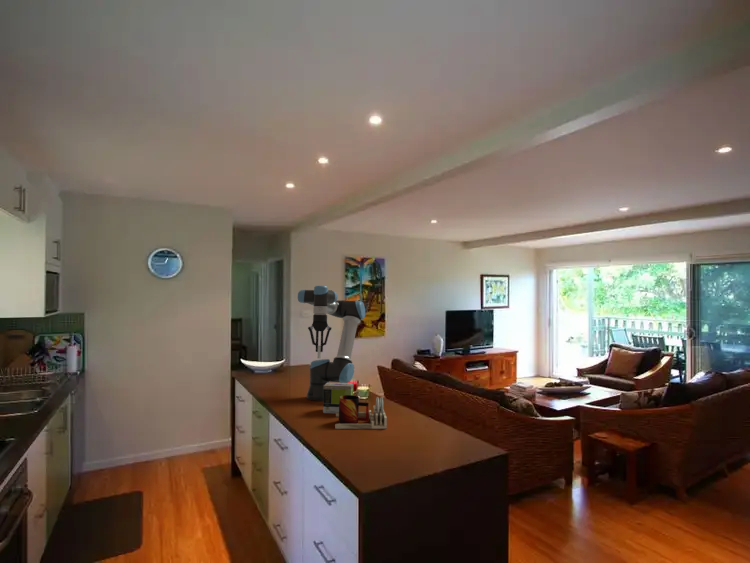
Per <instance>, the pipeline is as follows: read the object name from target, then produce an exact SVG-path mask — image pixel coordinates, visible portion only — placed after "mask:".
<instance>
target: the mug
mask: <svg viewBox="0 0 750 563" xmlns="http://www.w3.org/2000/svg"><path fill="white" fill-rule="evenodd" d="M359 400H360V397H359V396H358V395H354V394H353V395H344V396H340V397H339V417H338V424H359V422H369V413H368V412H369V406H370V405H369V402H364V401H363V402H361V401H359ZM359 407H365V412H366V417H358V414H359V412H360V411H359V409H360V408H359Z"/></svg>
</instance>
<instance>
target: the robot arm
mask: <svg viewBox="0 0 750 563" xmlns="http://www.w3.org/2000/svg"><path fill="white" fill-rule="evenodd" d="M297 300H298V302H299V303H302V304H309V305H311V306H312V308H313V316H312V324H311V325H310V326H308V327H307V329H308V331H309V335H310V339H311V343H312V345H314V347H315V352H316V353H317V359H315V360H312V361H311V362H310V367H309V370H310V371H309V387H308V389H307V392H306V399H307V400H310V401H319V402H321V401H323V386H324V385H325V384H326V383H351V381H352V380H353V377H354V374H355V365H354V364H353V361H352V359H351V358H352V353H353V348H354V343H355V338H356V334H357V330H358V325H359V324H360V323H361V320H363V319H365V317H366V308H365V304H364V302H363V301H361V300H341V299H339V300H338V293H337V292H336V290H335V291H334V290H331V289H329V287H328V286H327V285H315V286H314V288H313V289H301V290H299V291H298V293H297ZM327 314H328V315H330V316H332V317H336V318H341V319H342V320H343V322H344V323H343V326H342V331H341V334H340V335H341V336H340V339H339V345H338V348H337V349H338V350H337V354H336V356H335V357H333V361H330V359H329V358H324V359H321V353H323V352H324V346H326V345H327V342H328V338H329V334H330V332H331V331H332V327H331V326H330V325H329V324H328V315H327ZM313 329H314V330H315V337H314V333H313ZM324 331H326V335H325V338H324ZM319 332H320V334H319ZM319 335H320V345H319Z"/></svg>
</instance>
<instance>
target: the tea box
mask: <svg viewBox="0 0 750 563" xmlns="http://www.w3.org/2000/svg"><path fill="white" fill-rule="evenodd" d="M344 395H353V396H354V382H353V383H352V382H348V383H340V382H329V383H326V384H325V385H324V386H323V400H322V412H323V414H336V412H339V397H340V396H344Z"/></svg>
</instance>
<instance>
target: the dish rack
mask: <svg viewBox="0 0 750 563" xmlns="http://www.w3.org/2000/svg"><path fill="white" fill-rule="evenodd" d="M372 406H373V408H372V409H373V411H372V410H371V409H368V413H369V417H368V420H369V423H357V424H340V423H335V425H334V426H335V428H334V429H335V430H336V429H337V430H340V429H341V430H342V429H343V430H345V429H347V430H348V429H350V430H351V429H352V430H353V429H355V430H356V429H357V430H361V429H363V430H364V429H365V430H367V429H370V430H373V429H376V430H377V429H380V430H382V429H384V430H385V429H387V428H388V426H387V422H388V417H387V415H386V412H385V410H384V398H383V396H380V398H379V397H378V396H376V398H375V405H372ZM335 417H338V418H339V412H336V413H335ZM358 417H365V418H366V411H359V414H358Z"/></svg>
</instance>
